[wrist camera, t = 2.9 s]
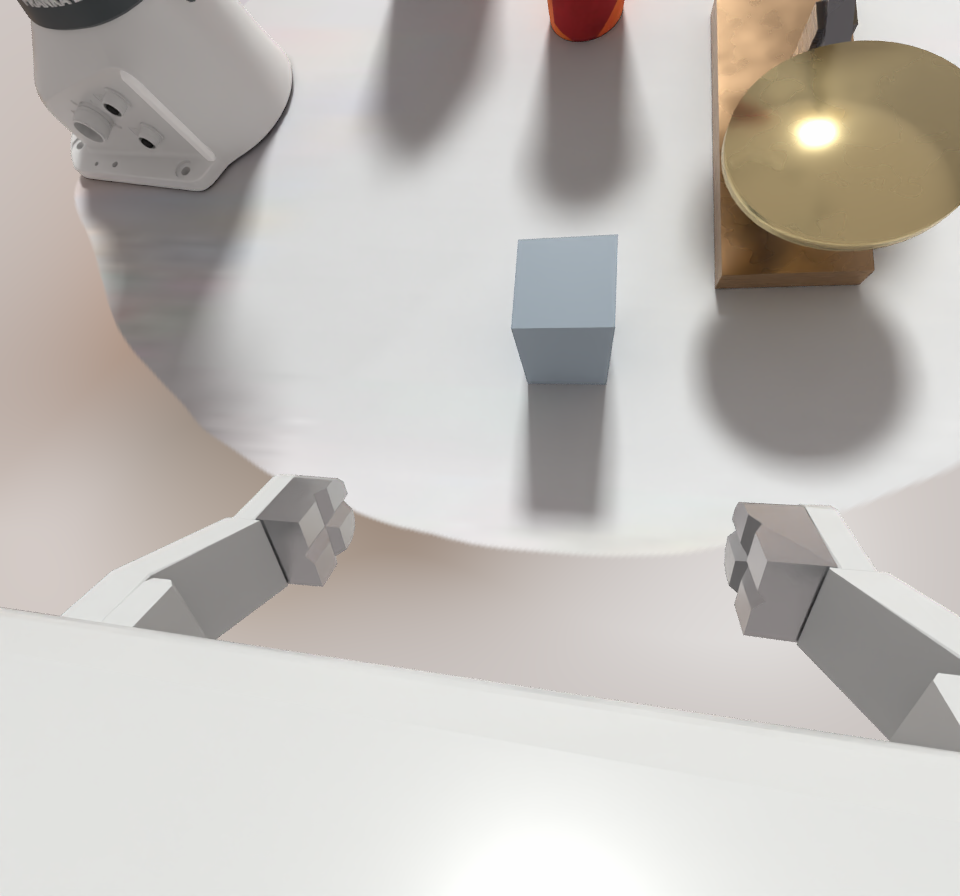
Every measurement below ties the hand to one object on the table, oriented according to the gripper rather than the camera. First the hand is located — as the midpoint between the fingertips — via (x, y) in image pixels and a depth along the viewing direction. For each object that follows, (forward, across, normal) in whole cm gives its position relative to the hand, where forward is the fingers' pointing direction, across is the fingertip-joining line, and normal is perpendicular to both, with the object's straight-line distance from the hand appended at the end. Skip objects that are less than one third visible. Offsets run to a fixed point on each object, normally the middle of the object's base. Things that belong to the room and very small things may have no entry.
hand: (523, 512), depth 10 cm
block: (+23, 0, +5) cm, 23 cm away
